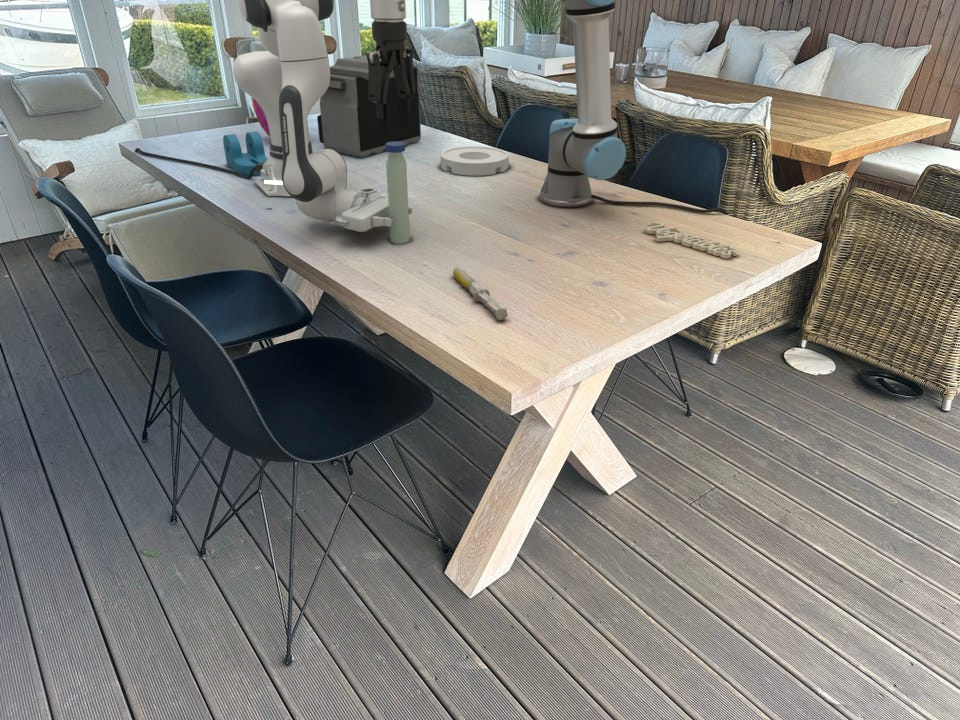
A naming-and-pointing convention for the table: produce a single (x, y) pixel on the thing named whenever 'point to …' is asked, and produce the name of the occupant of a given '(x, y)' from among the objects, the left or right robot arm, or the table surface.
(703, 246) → the decorative sign
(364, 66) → the electronic device
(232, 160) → the camera mount
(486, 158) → the ashtray
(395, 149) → the cap
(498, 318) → the syringe
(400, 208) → the bottle
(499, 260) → the table surface
